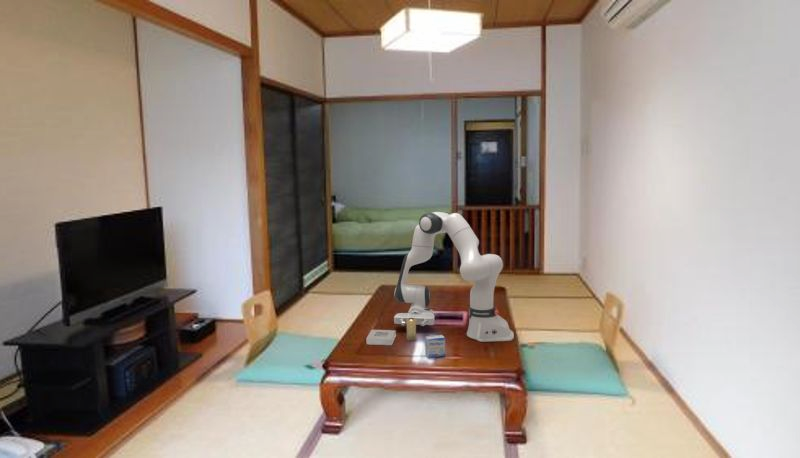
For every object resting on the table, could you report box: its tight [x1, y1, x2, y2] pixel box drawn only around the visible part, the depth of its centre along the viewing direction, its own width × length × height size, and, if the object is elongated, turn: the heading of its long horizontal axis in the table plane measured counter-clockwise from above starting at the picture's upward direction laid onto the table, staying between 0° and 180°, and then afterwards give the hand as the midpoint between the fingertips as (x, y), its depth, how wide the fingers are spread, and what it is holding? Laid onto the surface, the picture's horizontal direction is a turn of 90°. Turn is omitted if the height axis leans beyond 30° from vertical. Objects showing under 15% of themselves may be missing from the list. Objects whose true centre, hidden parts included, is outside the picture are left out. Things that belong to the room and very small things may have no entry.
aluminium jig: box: [365, 329, 397, 346], centre depth 261 cm, size 12×12×3 cm
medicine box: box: [424, 334, 446, 359], centre depth 241 cm, size 8×4×9 cm, turn 105°
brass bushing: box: [406, 318, 417, 342], centre depth 262 cm, size 4×4×10 cm
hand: (412, 324), depth 266 cm, fingers open, 8 cm apart
